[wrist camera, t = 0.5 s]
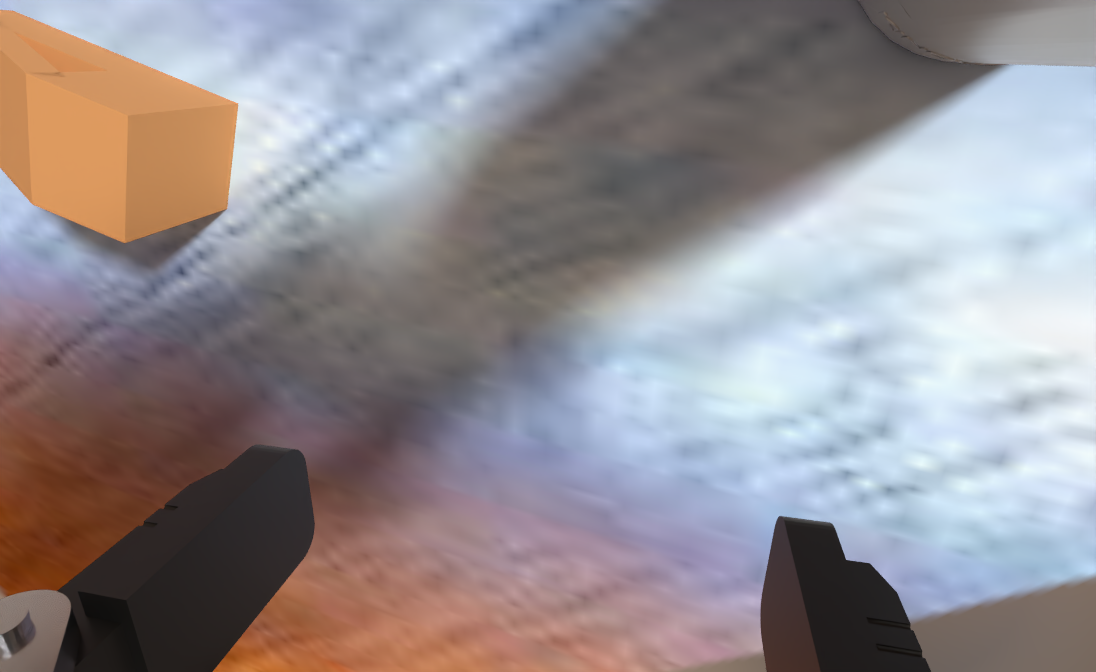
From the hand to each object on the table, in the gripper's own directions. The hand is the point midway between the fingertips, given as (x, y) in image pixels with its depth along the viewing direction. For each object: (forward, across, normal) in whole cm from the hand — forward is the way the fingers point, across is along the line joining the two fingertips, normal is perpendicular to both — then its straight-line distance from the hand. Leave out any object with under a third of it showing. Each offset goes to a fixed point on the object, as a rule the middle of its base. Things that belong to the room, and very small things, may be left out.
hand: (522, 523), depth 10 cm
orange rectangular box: (+18, +23, -5) cm, 29 cm away
